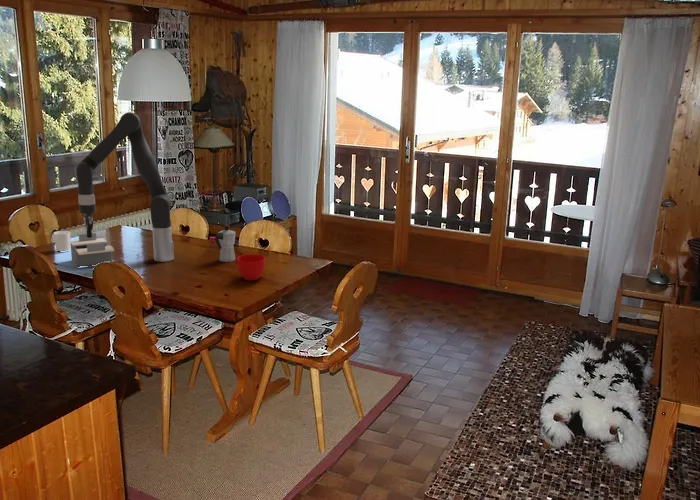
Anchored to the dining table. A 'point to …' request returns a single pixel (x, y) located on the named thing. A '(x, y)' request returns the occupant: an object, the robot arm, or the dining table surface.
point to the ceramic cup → (250, 266)
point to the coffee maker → (226, 244)
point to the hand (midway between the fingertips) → (89, 237)
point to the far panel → (87, 240)
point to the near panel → (84, 251)
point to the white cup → (62, 240)
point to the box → (89, 257)
